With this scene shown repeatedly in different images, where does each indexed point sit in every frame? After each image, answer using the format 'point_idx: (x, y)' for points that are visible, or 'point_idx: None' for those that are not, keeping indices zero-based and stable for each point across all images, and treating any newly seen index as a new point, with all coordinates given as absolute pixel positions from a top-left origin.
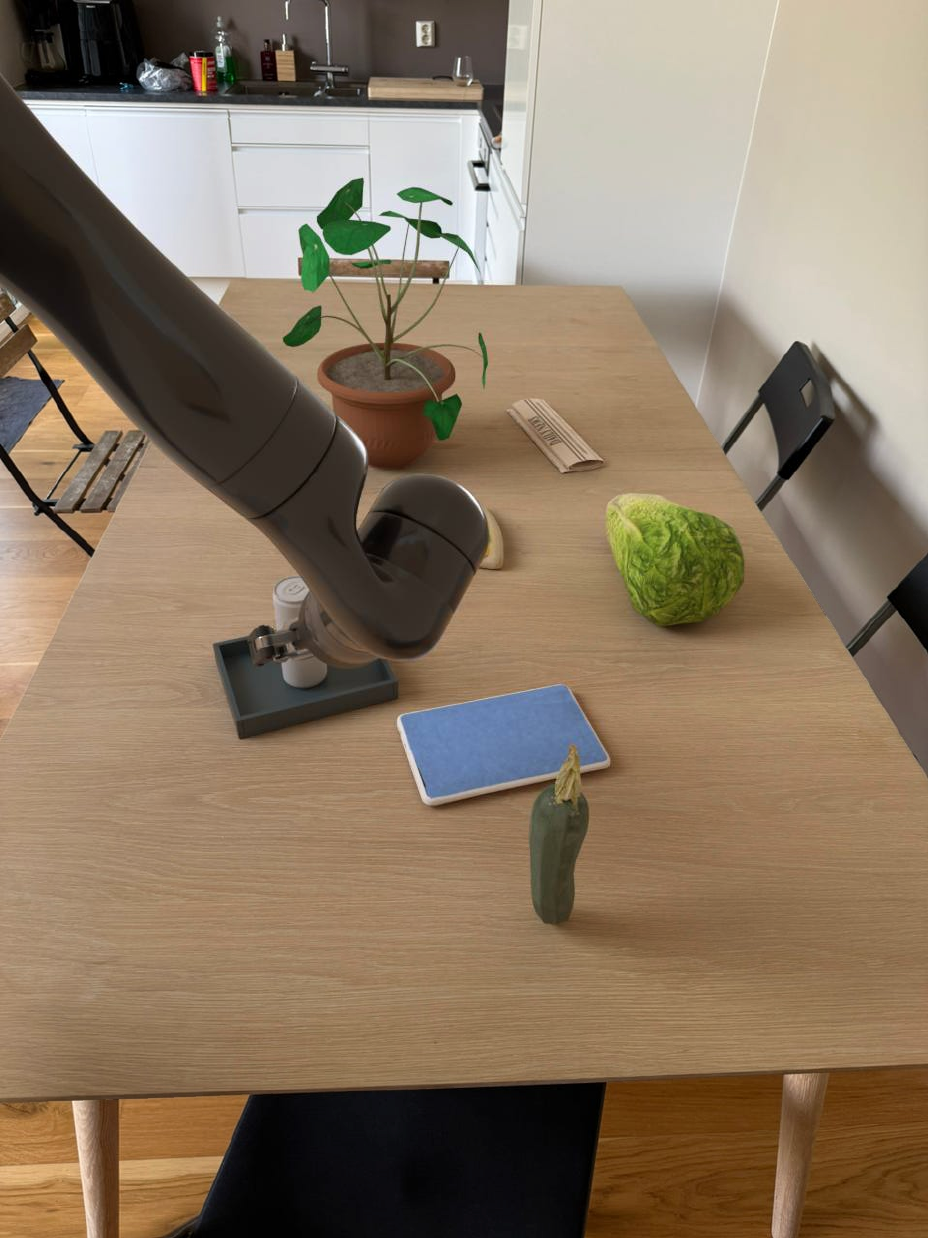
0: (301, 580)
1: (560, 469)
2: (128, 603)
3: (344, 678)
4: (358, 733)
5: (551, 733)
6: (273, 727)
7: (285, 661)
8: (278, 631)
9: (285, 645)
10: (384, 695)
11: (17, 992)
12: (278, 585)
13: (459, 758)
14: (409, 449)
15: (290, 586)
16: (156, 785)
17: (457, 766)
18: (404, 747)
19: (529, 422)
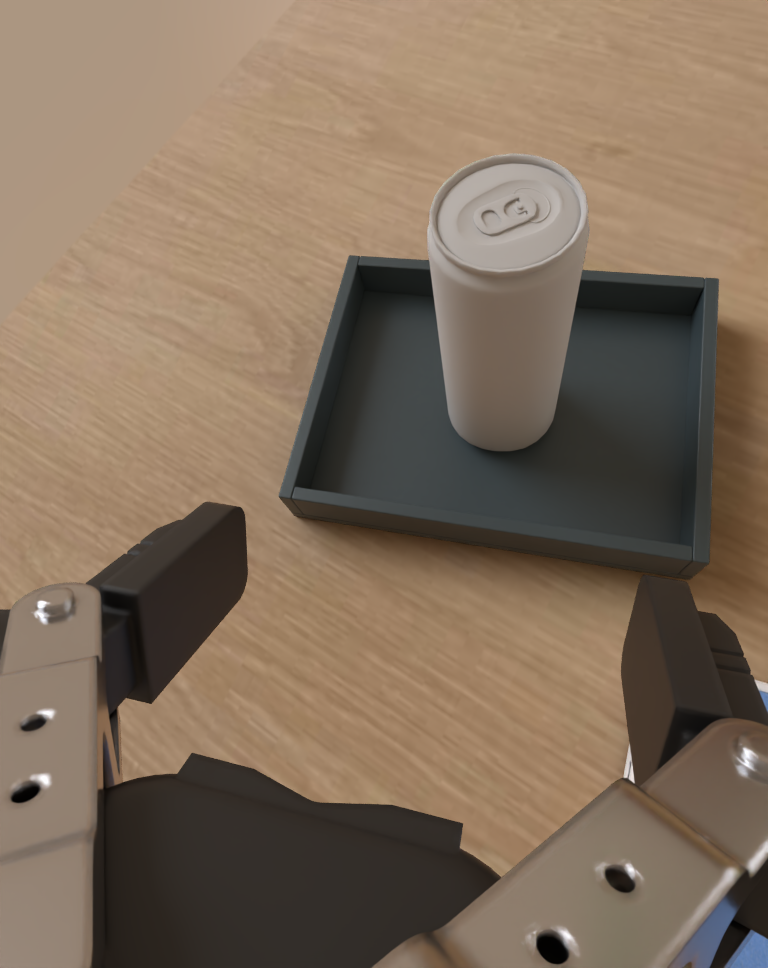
0: (543, 183)
1: None
2: (291, 98)
3: (584, 457)
4: (538, 639)
5: None
6: (366, 524)
7: (222, 616)
8: (3, 664)
9: (138, 649)
10: (654, 567)
11: None
12: (463, 180)
13: (764, 937)
14: None
15: (496, 197)
16: (109, 553)
17: (744, 963)
18: (626, 767)
19: None
